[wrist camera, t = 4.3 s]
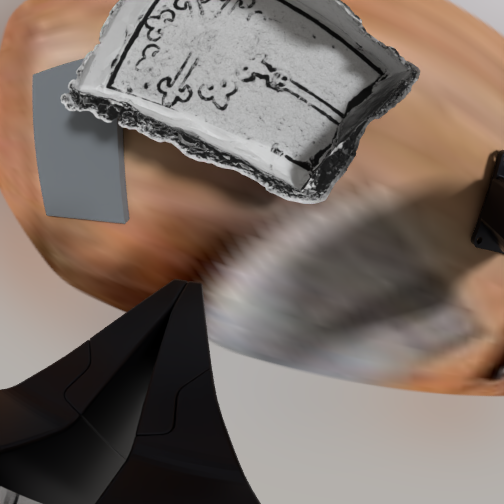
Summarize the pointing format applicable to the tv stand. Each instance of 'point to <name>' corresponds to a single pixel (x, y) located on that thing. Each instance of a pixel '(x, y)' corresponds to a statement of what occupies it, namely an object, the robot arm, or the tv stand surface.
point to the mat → (77, 154)
